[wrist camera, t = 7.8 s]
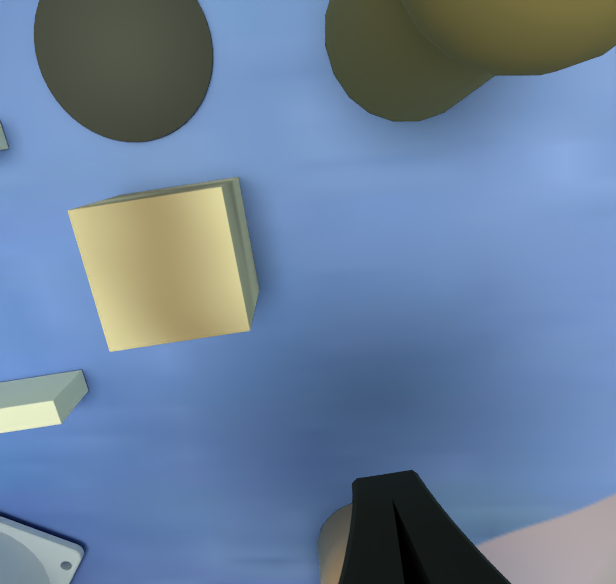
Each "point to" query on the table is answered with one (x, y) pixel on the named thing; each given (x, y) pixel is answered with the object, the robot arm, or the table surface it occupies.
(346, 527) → the tan rounded-top cylinder
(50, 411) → the u-shaped bracket
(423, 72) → the cork
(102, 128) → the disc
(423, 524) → the robot arm
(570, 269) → the table surface
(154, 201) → the block
